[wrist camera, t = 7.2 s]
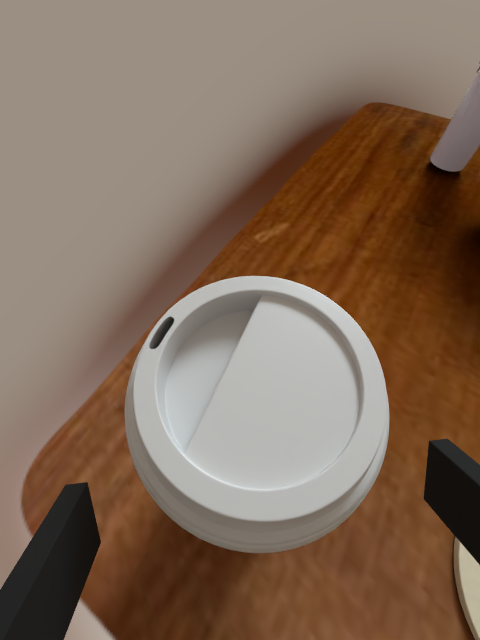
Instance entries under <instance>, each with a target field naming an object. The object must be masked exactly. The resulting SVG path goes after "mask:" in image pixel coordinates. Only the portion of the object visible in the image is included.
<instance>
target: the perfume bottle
mask: <svg viewBox="0 0 480 640" xmlns="http://www.w3.org/2000/svg"><path fill="white" fill-rule="evenodd" d="M478 70H479V71H478V73H477V75H476V76H475V78H474V80H473V82H472V84H471V86H470V87H469V89H468V91H467V92H466V94H465V96H464V98H463V100H462V102H461V103H460V105H459V107H458V109H457V110H456V112H455V114H454V116H453V117H452V119H451V121H450V123H449V124H448V126H447V128H446V130H445V132H444V133H443V135H442V137H441V139H440V140H439V142H438V144H437V146H436V148H435V149H434V151H433V153H432V155H431V157H430V160H431V162H432V163H433V164H434V165H435V166H436V167H438V168H440V169H443V170H446V171H460V170H463V169H464V168H465V166H466V165H467V163H468V162H469V161H470V159H471V158H472V156H473V155H474V153H475V152H476V150H477V149H478V147H479V146H480V68H479V69H478Z"/></svg>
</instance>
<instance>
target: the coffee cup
mask: <svg viewBox="0 0 480 640" xmlns="http://www.w3.org/2000/svg"><path fill="white" fill-rule="evenodd" d="M125 427H126V435H127V441H128V446H129V450H130V454H131V457H132V460H133V463H134V466H135V468H136V471H137V473H138V475H139V477H140V479H141V481H142V483H143V485H144V486H145V488H146V490H147V491H148V493H149V494H150V496H151V497H152V498H153V500H154V501H155V502H156V504H157V505H158V506H159V507H160V508H161V509H162V510H163V511H164V512H165V513H166V514H167V515H168V516H169V517H170V518H171V519H172V520H173V521H174V522H175V523H177V524H178V525H179V526H181V527H182V528H183V529H185V530H186V531H188V532H189V533H191V534H193V535H194V536H196V537H198V538H200V539H202V540H204V541H206V542H208V543H211V544H213V545H216V546H219V547H222V548H226V549H230V550H234V551H240V552H248V553H273V552H280V551H286V550H290V549H294V548H298V547H301V546H304V545H306V544H309V543H311V542H313V541H315V540H317V539H319V538H321V537H323V536H325V535H326V534H328V533H330V532H331V531H333V530H334V529H335V528H337V527H338V526H339V525H341V524H342V523H343V522H344V521H345V520H346V519H347V518H348V517H349V516H350V515H351V514H352V513H353V512H354V511H355V510H356V509H357V508H358V506H359V505H360V504H361V502H362V501H363V500H364V498H365V497H366V495H367V494H368V492H369V491H370V489H371V487H372V485H373V484H374V482H375V480H376V478H377V476H378V473H379V471H380V469H381V466H382V463H383V460H384V456H385V452H386V448H387V442H388V434H389V404H388V397H387V391H386V385H385V379H384V375H383V371H382V368H381V365H380V362H379V359H378V357H377V354H376V352H375V350H374V348H373V346H372V344H371V343H370V341H369V339H368V338H367V336H366V335H365V333H364V332H363V330H362V329H361V328H360V326H359V325H358V324H357V323H356V322H355V320H354V319H353V318H352V317H351V316H350V315H349V314H348V313H347V312H346V311H345V310H343V309H342V308H341V307H340V306H339V305H337V304H336V303H335V302H333V301H332V300H331V299H329V298H328V297H326V296H324V295H323V294H321V293H319V292H317V291H315V290H313V289H311V288H309V287H307V286H304V285H302V284H299V283H296V282H293V281H289V280H285V279H280V278H274V277H266V276H244V277H236V278H230V279H225V280H221V281H218V282H215V283H212V284H209V285H207V286H204V287H202V288H200V289H198V290H196V291H194V292H192V293H191V294H189V295H187V296H186V297H184V298H183V299H181V300H180V301H179V302H177V303H176V304H175V305H174V306H173V307H172V308H170V309H169V310H168V311H167V312H166V313H165V314H164V315H163V317H162V318H161V319H160V320H159V321H158V323H157V324H156V325H155V327H154V328H153V329H152V331H151V333H150V334H149V336H148V338H147V340H146V341H145V343H144V345H143V347H142V348H141V350H140V352H139V354H138V356H137V359H136V361H135V364H134V366H133V369H132V372H131V375H130V379H129V383H128V387H127V392H126V400H125Z"/></svg>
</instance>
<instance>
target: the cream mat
mask: <svg viewBox="0 0 480 640" xmlns="http://www.w3.org/2000/svg"><path fill="white" fill-rule="evenodd" d="M453 553H454V573H455V580H456V586H457V590H458V595H459V599H460V602H461V606H462V609H463V612H464V615H465V618H466V620H467V623H468V625H469V627H470V630H471V632H472V634H473V637H474V639H475V640H480V565H479V564H478V563H477V561H476V560H475V559H474V558H473V557H472V555H471V554H470V553H469V552H468V551H467V550H466V548H465V547H464V546H463V545H462V544H461V542H460V541H459V540H458V539H457V538H456V536H455V543H454V552H453Z"/></svg>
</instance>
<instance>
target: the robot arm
mask: <svg viewBox="0 0 480 640" xmlns="http://www.w3.org/2000/svg"><path fill="white" fill-rule="evenodd" d="M424 500H425V501H426V502H427V503H428V504H429V506H430V507H431V508H432V509H433V510H434V512H435V513H436V514H437V515H438V516H439V517H440V519H441V520H442V521H443V522H444V523H445V525H446V526H447V527H448V528H449V529H450V531H451V532H452V533H453V534H454V535H455V536H456V538H457V539H458V540H459V541H460V542H461V544H462V545H463V546H464V547H465V548H466V550H467V551H468V552H469V553H470V554H471V555H472V557H473V558H474V559H475V560H476V561H477V563H478V564H479V565H480V465H479V464H478V463H477V462H475V461H474V460H473V459H472V458H471V457H469V456H468V455H467V454H466V453H464V452H463V451H462V450H461V449H459V448H458V447H457V446H456V445H455V444H453V443H452V442H451V441H450V440H448V439H441V440H433V441H429V447H428V458H427V469H426V480H425V491H424ZM100 543H101V541H100V536H99V532H98V527H97V523H96V519H95V514H94V510H93V505H92V501H91V496H90V492H89V487H88V483H87V482H86V483H78V484H69V485H65V487H64V488H63V490H62V492H61V493H60V495H59V496H58V498H57V500H56V501H55V503H54V504H53V506H52V508H51V509H50V511H49V512H48V514H47V516H46V517H45V519H44V520H43V522H42V524H41V525H40V527H39V528H38V530H37V532H36V533H35V535H34V537H33V538H32V540H31V541H30V543H29V545H28V546H27V548H26V549H25V551H24V553H23V554H22V556H21V558H20V559H19V561H18V562H17V564H16V565H15V567H14V569H13V570H12V572H11V573H10V575H9V577H8V578H7V580H6V582H5V583H4V585H3V586H2V588H1V590H0V640H64V637H65V635H66V632H67V630H68V627H69V624H70V621H71V619H72V616H73V614H74V611H75V608H76V606H77V603H78V601H79V598H80V595H81V593H82V590H83V588H84V585H85V582H86V580H87V577H88V575H89V572H90V569H91V567H92V564H93V561H94V559H95V556H96V554H97V551H98V548H99V546H100Z"/></svg>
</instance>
